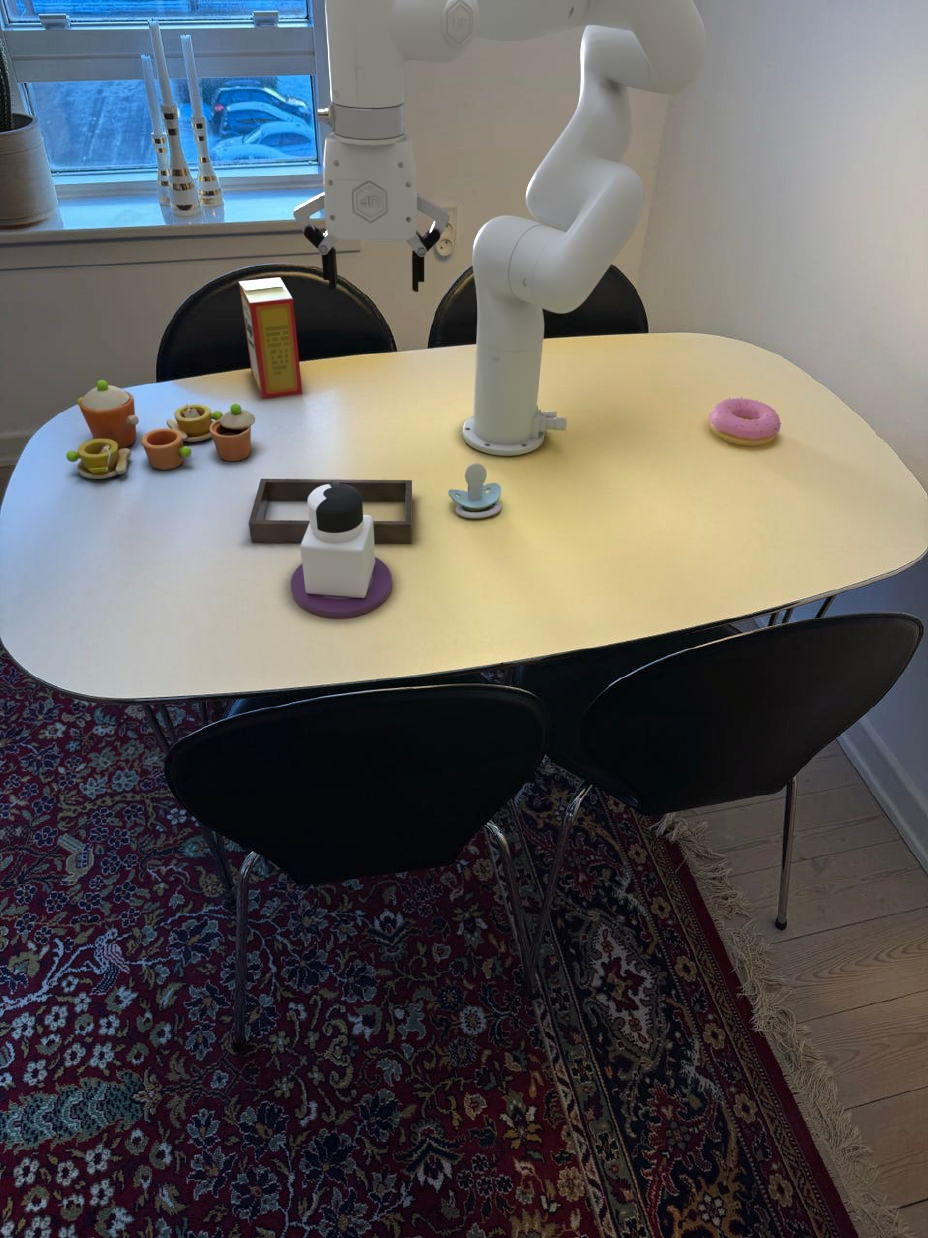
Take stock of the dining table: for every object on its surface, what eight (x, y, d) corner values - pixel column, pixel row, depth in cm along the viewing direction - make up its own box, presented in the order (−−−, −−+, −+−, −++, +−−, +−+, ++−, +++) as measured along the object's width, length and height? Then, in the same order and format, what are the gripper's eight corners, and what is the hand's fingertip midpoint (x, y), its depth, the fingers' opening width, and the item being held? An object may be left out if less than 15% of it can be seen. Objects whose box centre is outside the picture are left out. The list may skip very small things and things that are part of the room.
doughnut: (700, 441, 133) (706, 416, 130) (712, 410, 140) (718, 387, 138) (772, 456, 130) (779, 431, 127) (780, 424, 137) (787, 400, 135)
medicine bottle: (375, 562, 105) (371, 478, 97) (365, 599, 99) (360, 513, 92) (318, 558, 105) (310, 473, 97) (305, 594, 100) (294, 508, 92)
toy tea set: (70, 487, 117) (50, 424, 111) (76, 433, 128) (58, 373, 122) (263, 465, 123) (254, 404, 117) (252, 415, 134) (244, 357, 128)
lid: (393, 556, 108) (393, 549, 107) (390, 618, 99) (390, 611, 98) (297, 555, 107) (296, 548, 106) (285, 618, 98) (284, 611, 97)
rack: (412, 498, 118) (412, 479, 116) (411, 543, 110) (411, 524, 108) (263, 497, 117) (260, 478, 115) (251, 542, 109) (248, 523, 107)
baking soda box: (302, 393, 141) (292, 296, 130) (262, 398, 139) (249, 300, 128) (289, 369, 147) (279, 274, 137) (251, 374, 145) (238, 279, 135)
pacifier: (509, 517, 115) (494, 492, 120) (512, 477, 111) (497, 453, 115) (457, 525, 114) (444, 499, 118) (459, 485, 109) (445, 461, 114)
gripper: (280, 127, 86) (297, 297, 97) (451, 132, 87) (448, 300, 98) (289, 112, 92) (304, 274, 103) (450, 116, 92) (447, 277, 104)
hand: (374, 286), depth 100 cm, fingers open, 9 cm apart
